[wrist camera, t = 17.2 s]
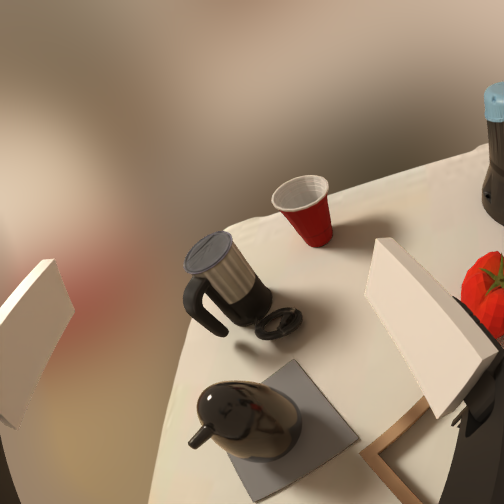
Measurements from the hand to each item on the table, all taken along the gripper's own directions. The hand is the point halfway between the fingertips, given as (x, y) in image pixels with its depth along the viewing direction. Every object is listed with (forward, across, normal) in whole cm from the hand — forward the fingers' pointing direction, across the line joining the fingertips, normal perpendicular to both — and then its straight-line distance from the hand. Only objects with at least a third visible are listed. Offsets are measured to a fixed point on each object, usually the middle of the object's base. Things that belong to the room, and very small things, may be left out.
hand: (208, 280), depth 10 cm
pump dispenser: (+8, +4, -30) cm, 32 cm away
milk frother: (+29, +6, -27) cm, 40 cm away
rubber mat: (+8, +5, -31) cm, 32 cm away
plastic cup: (+40, +18, -18) cm, 48 cm away
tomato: (+8, +35, -16) cm, 39 cm away
